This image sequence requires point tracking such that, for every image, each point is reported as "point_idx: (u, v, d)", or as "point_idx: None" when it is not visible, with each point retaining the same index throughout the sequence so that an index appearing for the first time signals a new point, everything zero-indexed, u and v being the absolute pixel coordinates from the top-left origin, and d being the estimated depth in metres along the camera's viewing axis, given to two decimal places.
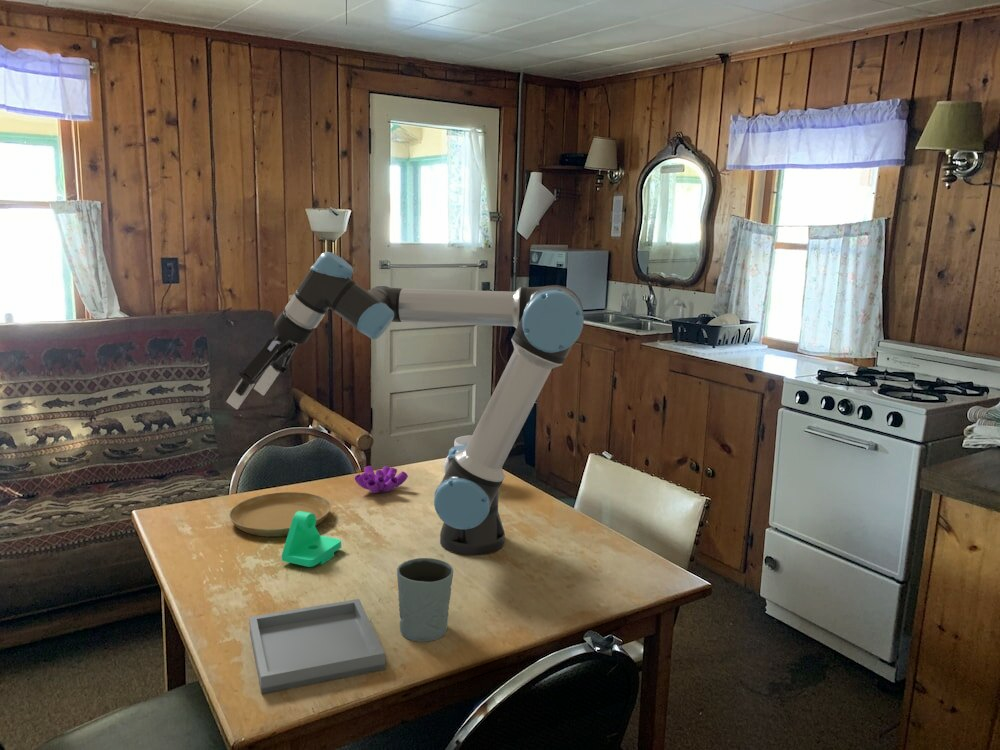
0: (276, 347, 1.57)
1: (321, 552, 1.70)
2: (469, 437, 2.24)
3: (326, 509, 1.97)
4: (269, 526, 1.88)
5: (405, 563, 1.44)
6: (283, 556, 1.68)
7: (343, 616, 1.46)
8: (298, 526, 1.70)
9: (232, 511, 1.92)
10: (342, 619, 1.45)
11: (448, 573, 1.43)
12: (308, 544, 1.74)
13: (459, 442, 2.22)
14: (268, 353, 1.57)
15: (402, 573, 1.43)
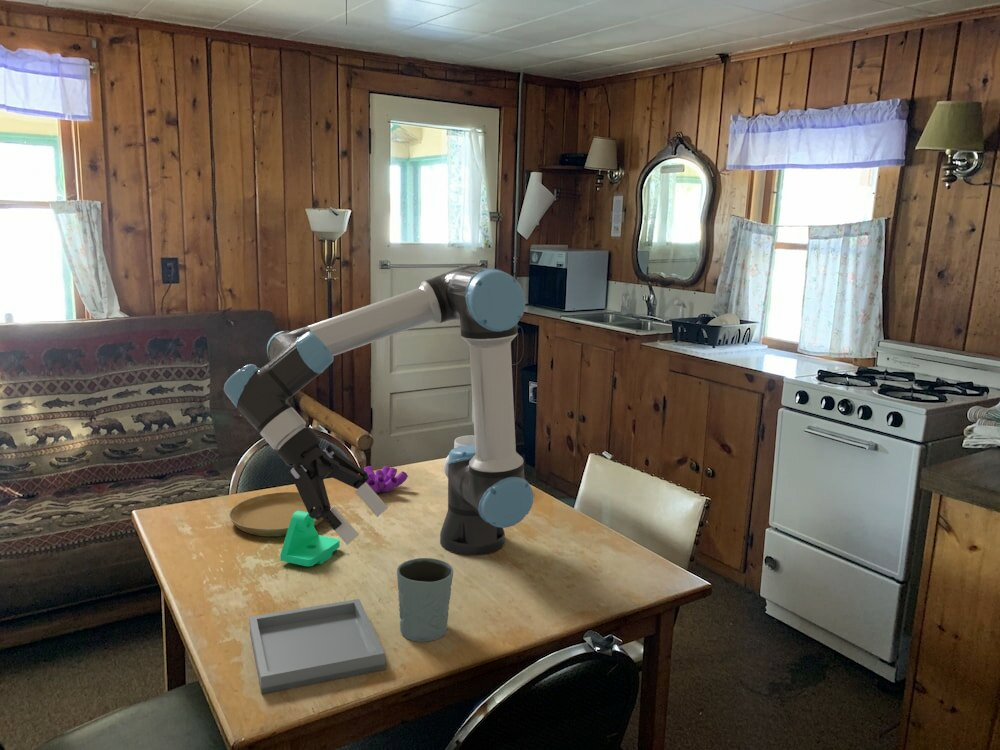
0: (296, 468, 1.36)
1: (320, 552, 1.70)
2: (469, 437, 2.24)
3: None
4: (269, 526, 1.88)
5: (405, 563, 1.44)
6: (282, 556, 1.68)
7: (343, 616, 1.46)
8: (297, 526, 1.70)
9: (232, 511, 1.92)
10: (342, 619, 1.45)
11: (448, 573, 1.43)
12: (307, 544, 1.74)
13: (459, 442, 2.22)
14: (300, 479, 1.36)
15: (402, 573, 1.43)
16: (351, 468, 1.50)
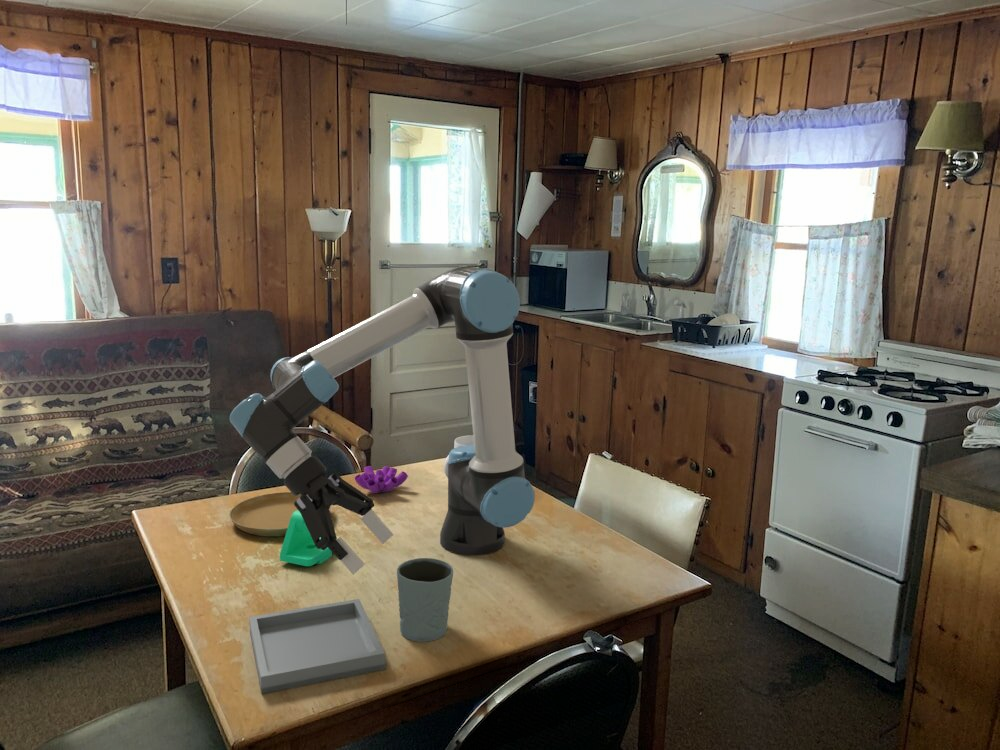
0: (302, 498, 1.37)
1: (319, 551, 1.70)
2: (469, 437, 2.24)
3: None
4: (269, 526, 1.88)
5: (405, 563, 1.44)
6: (281, 556, 1.69)
7: (343, 616, 1.46)
8: (296, 526, 1.70)
9: (232, 511, 1.92)
10: (342, 619, 1.45)
11: (448, 573, 1.43)
12: (306, 544, 1.74)
13: (459, 442, 2.22)
14: (306, 509, 1.36)
15: (402, 573, 1.43)
16: (356, 495, 1.50)
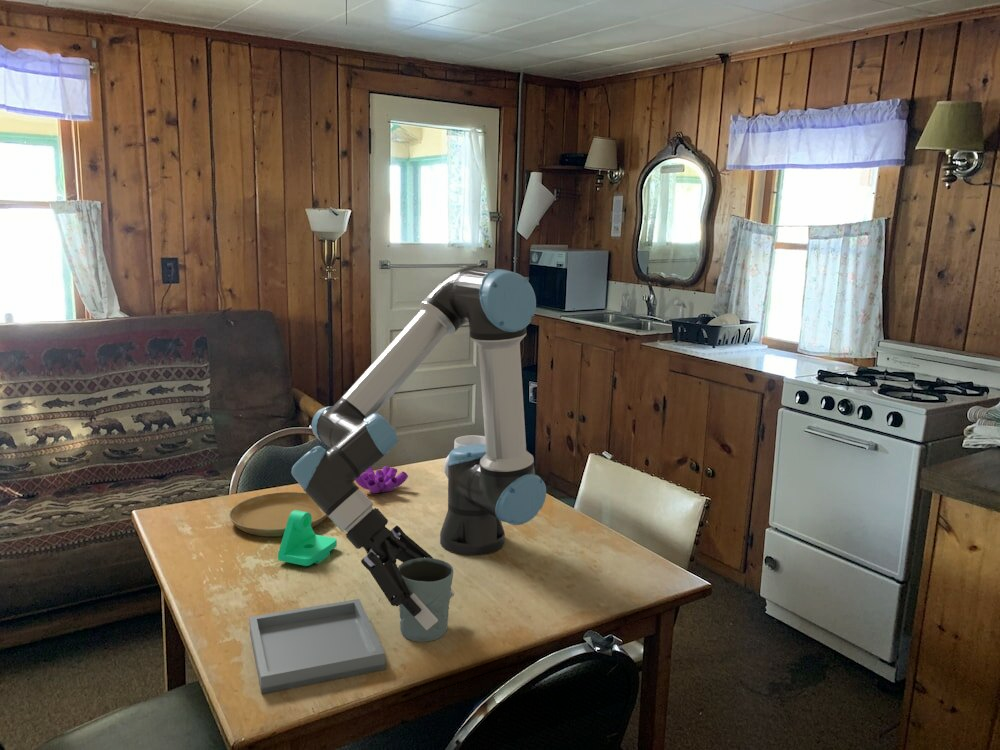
0: (370, 557, 1.36)
1: (317, 551, 1.70)
2: (469, 437, 2.24)
3: None
4: (269, 526, 1.88)
5: (405, 563, 1.44)
6: (279, 555, 1.69)
7: (343, 616, 1.46)
8: (294, 525, 1.71)
9: (232, 511, 1.92)
10: (342, 619, 1.45)
11: (448, 573, 1.43)
12: (304, 543, 1.74)
13: (459, 442, 2.22)
14: (376, 567, 1.36)
15: (402, 573, 1.43)
16: (417, 551, 1.49)
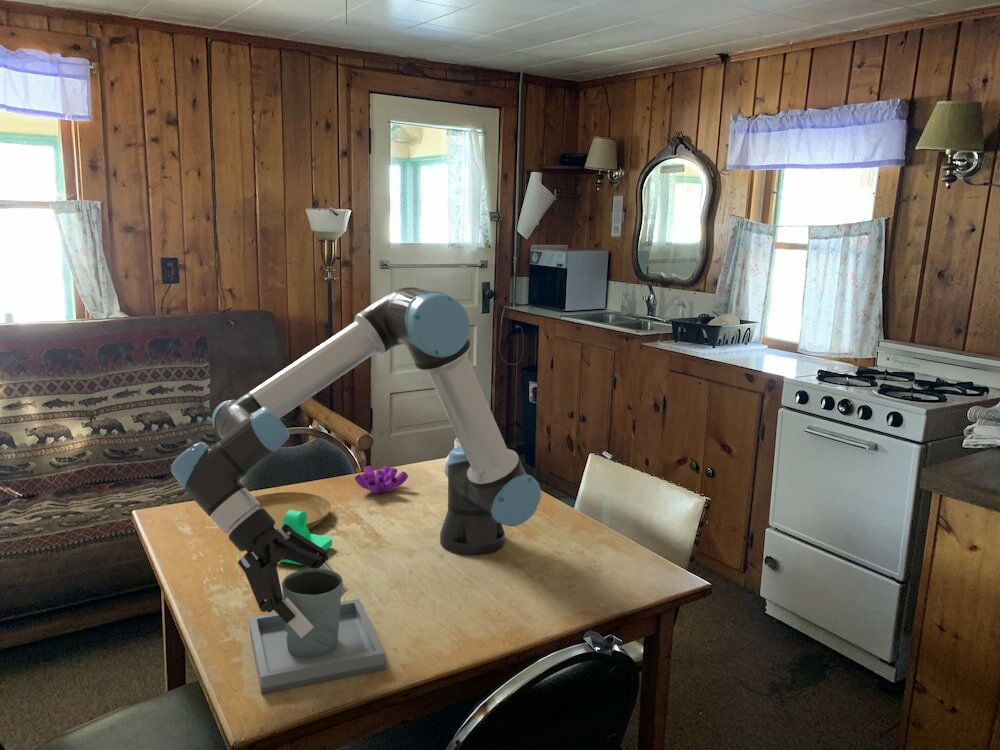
0: (246, 557, 1.28)
1: None
2: None
3: (326, 509, 1.97)
4: None
5: (294, 574, 1.36)
6: None
7: (343, 616, 1.46)
8: (290, 525, 1.71)
9: None
10: (342, 619, 1.45)
11: (338, 585, 1.36)
12: None
13: (459, 442, 2.22)
14: (251, 568, 1.28)
15: (289, 585, 1.35)
16: (309, 548, 1.42)
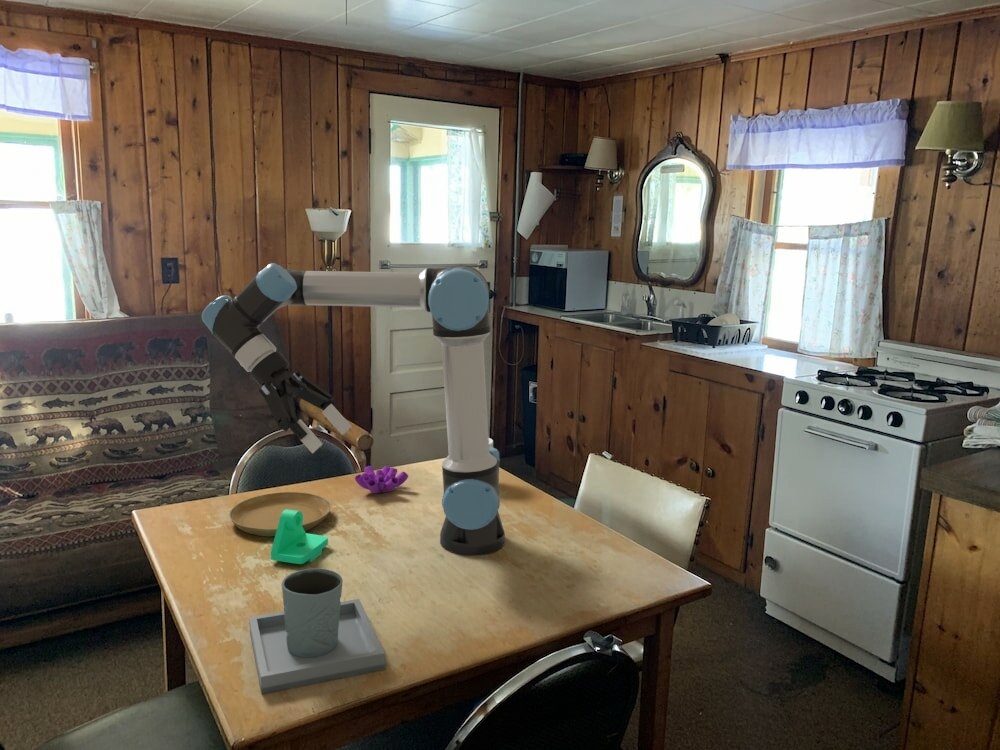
0: (266, 385, 1.52)
1: (310, 549, 1.71)
2: None
3: (326, 509, 1.97)
4: (269, 526, 1.88)
5: (293, 574, 1.37)
6: (272, 554, 1.69)
7: (343, 616, 1.46)
8: (286, 524, 1.71)
9: (232, 511, 1.92)
10: (342, 619, 1.45)
11: (338, 585, 1.36)
12: (296, 542, 1.75)
13: None
14: (270, 395, 1.52)
15: (289, 585, 1.35)
16: (318, 391, 1.66)
